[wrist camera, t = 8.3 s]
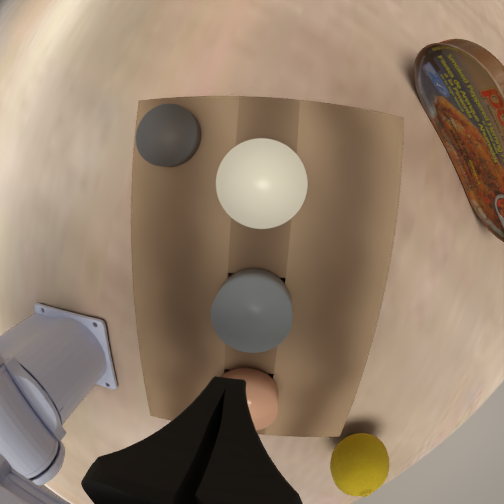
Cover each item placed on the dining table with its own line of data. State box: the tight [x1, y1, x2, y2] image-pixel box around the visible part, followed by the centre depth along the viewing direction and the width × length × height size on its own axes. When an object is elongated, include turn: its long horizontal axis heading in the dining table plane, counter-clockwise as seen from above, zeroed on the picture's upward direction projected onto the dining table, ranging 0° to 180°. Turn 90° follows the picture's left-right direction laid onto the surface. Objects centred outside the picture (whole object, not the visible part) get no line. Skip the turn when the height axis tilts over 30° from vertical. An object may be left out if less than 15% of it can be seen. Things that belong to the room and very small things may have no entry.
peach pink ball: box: [221, 368, 278, 431], centre depth 20 cm, size 4×4×5 cm
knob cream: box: [216, 138, 308, 229], centre depth 16 cm, size 4×4×5 cm
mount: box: [131, 96, 403, 437], centre depth 19 cm, size 16×24×5 cm, turn 176°
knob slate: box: [211, 268, 293, 353], centre depth 18 cm, size 4×4×5 cm
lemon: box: [330, 433, 389, 497], centre depth 20 cm, size 6×6×8 cm
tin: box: [414, 39, 504, 242], centre depth 13 cm, size 15×3×8 cm, turn 33°
